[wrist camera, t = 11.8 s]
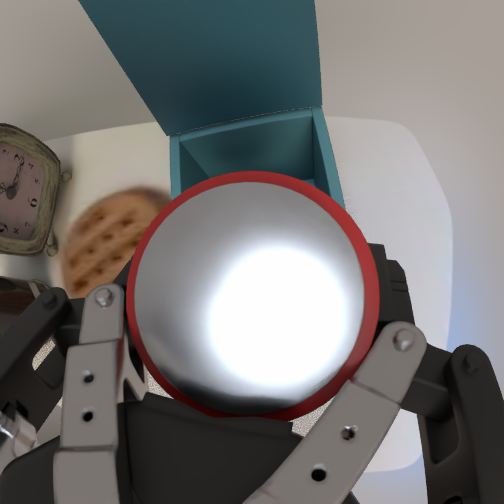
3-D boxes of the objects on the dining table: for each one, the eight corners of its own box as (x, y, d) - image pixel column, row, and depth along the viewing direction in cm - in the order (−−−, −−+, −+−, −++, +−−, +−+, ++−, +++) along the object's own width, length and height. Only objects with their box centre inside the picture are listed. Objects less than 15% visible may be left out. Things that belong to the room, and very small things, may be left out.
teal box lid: (301, -86, 8) (298, -88, 8) (67, -16, 10) (73, -21, 10) (322, 105, 21) (319, 98, 21) (166, 136, 23) (167, 128, 23)
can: (289, 382, 16) (262, 476, 6) (200, 310, 18) (82, 312, 8) (361, 290, 16) (433, 269, 6) (270, 222, 18) (224, 123, 8)
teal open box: (340, 298, 32) (359, 295, 19) (228, 313, 34) (179, 317, 21) (319, 173, 34) (321, 105, 22) (216, 190, 36) (169, 135, 23)
